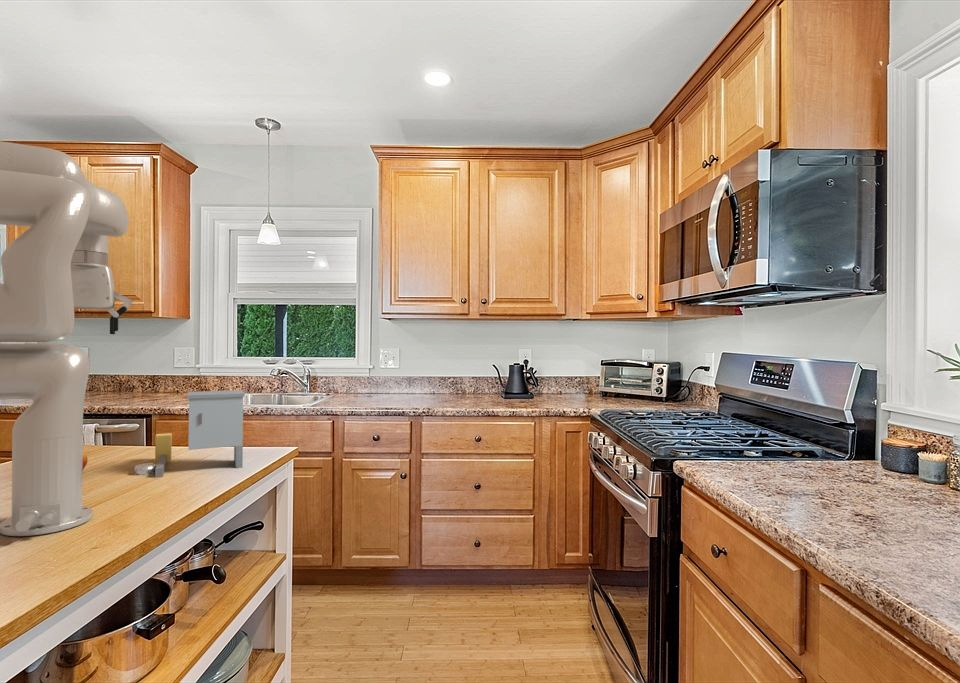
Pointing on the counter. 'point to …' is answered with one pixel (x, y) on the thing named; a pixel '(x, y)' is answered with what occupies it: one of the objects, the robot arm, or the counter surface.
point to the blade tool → (162, 452)
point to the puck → (145, 468)
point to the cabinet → (217, 421)
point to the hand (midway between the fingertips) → (87, 333)
